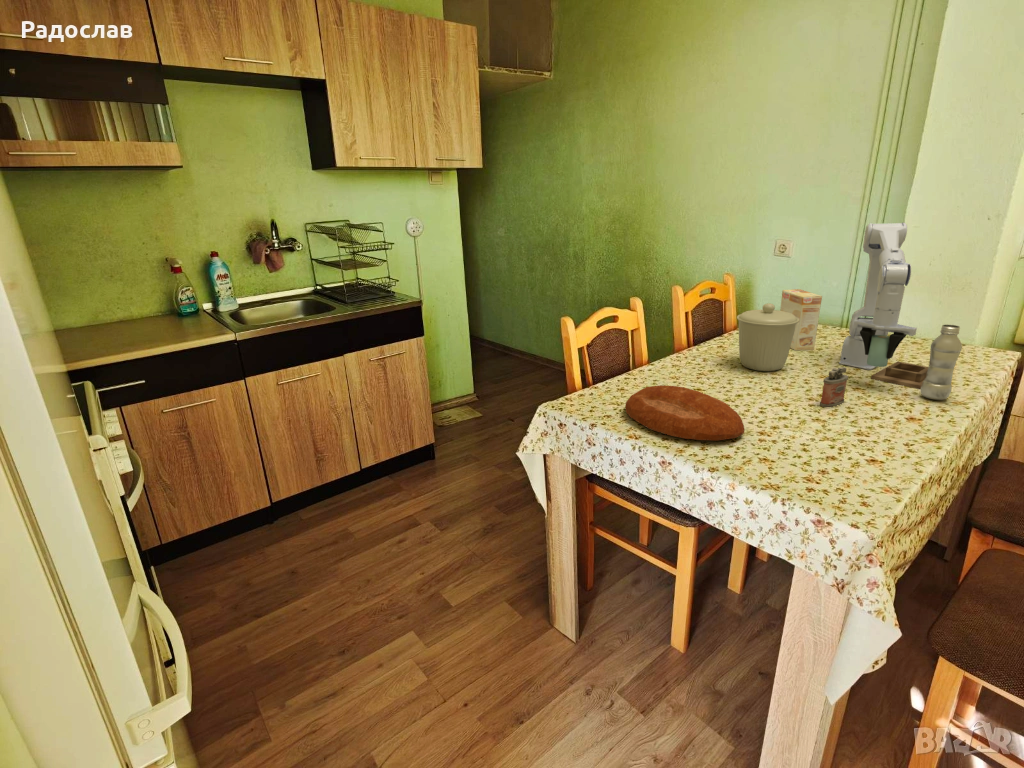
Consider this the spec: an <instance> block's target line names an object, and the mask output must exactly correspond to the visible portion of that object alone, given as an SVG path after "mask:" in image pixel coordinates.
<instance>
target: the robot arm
mask: <svg viewBox="0 0 1024 768" xmlns="http://www.w3.org/2000/svg"><path fill="white" fill-rule="evenodd" d="M907 232H908V224H907V223H906V222H897V223H896V222H895V223H894V222H893V223H892V222H889V223H888V222H887V223H872V222H869V223H868V224H867V225H866V227H865V231H864V237H863V245H862V249H863V253H866V254H867V255H868V257H869V264H868V271H867V272H868V273H867V279H866V286H865V295H864V300H863V307H861V308H858V309H857V310H855V311H854V312H853V314H852V315H851V319H850V323H849V328H848V330H849V331H848V333H849V335H847V336H846V337H845V338H844V341H843V342H842V347H841V352H840V353H841V354H840V359H839V362H838V364H839V365H844V366H849V367H854V368H859V369H862V370H863V369H865V370H870V371H871V370H873V369H875V368H877V367H876V366H871V365H868V364H867V359H868V354H869V348H870V343H871V338H872V336H873V335H886V336H890V341H889V349H888V353H887V359H888V360H890V359H892V358H893V356H894V354H895V352H896V350H897V348H898V347H899V346H900V344H901V343H902V341H903V340H904V339H905V338H906V336H910V337H914V336H916V334H917V329H918V328H917V327H912V326H910V325H909V326H907V325H904V324H900V323H899V319H900V313H901V309H902V304H903V298H904V295H905V294H904V293H905V288H906V287H907V286H908V285H909V283H910V280H911V277H912V265H911V263H909V262H906V257H905V253H904V250H903V249H901V248H902V245H903V243H904V242H905V241H906V237H907V234H908V233H907ZM898 323H899V324H898ZM889 333H892V334H890V335H888V334H889Z"/></svg>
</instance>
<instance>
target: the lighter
mask: <svg viewBox="0 0 1024 768" xmlns="http://www.w3.org/2000/svg"><path fill="white" fill-rule="evenodd" d="M847 369H848V368H847V366H846V367H845V366H841V367H838V368H835V367H834V368H832V369H831V370H829V371H828V376H826V377H824V378H823V387H822V393H821V398H820V399H821V400H820V401H819V407H821V406H822V407H821V408H824V407H831V408H834V407H833V406H835V407H838V406H837V405H839V406H841V405H843V404H844V403H845V399H844V398H845V394H846V386H847V382H848V380H849V375H847V374H844V373H847ZM842 403H843V404H842ZM840 404H841V405H840Z"/></svg>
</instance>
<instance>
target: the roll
mask: <svg viewBox="0 0 1024 768" xmlns="http://www.w3.org/2000/svg"><path fill="white" fill-rule="evenodd" d="M889 341H890V335H887V336H886V335H873V336H872V338H871V343H870V348H869V354H868V359H867V364H868V365H871V366H876V367H875V368H877V367H878V368H883V367H884V368H886V367H888V362H889V359H887V353H888V349H889Z"/></svg>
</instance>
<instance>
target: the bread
mask: <svg viewBox="0 0 1024 768" xmlns="http://www.w3.org/2000/svg"><path fill="white" fill-rule="evenodd" d="M624 408H625V413H626V414H627V415H628V416H629V417H630V418H631V419H632V418H633V420H634V421H636V422H637V423H639V424H640V423H641V424H640V425H642V426H643V427H645V426H646V427H645V428H647V427H648V428H647V429H649V430H651V429H652V430H651V431H654V432H656V433H657V432H658V433H660V432H661V433H660V434H663V433H664V434H663V435H666V434H667V436H669V437H670V436H671V437H675V438H682V439H685V440H697V441H711V442H712V441H713V442H715V441H716V442H718V441H723V440H731V439H732V440H733V439H736V438H738V437H741V436H742V435H743V434H745V425H744V422H743V420H742V418H741V416H740V415H739V413H738V412H737V411H735V410H734V409H733V408H732V407H731V406H729V405H728V403H726V402H725V401H723V400H721V399H719V398H716V397H714V396H712V395H709V394H706V393H703V392H701V391H699V390H698V391H697V390H695V389H691V388H688V387H683V386H678V385H677V386H676V385H664V384H662V385H653V386H647V387H646V386H645V387H644V388H641V389H640V390H638V391H635V393H634V394H631V395H630V396H629V398H628V399H627V400H626V402H625V407H624Z"/></svg>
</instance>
